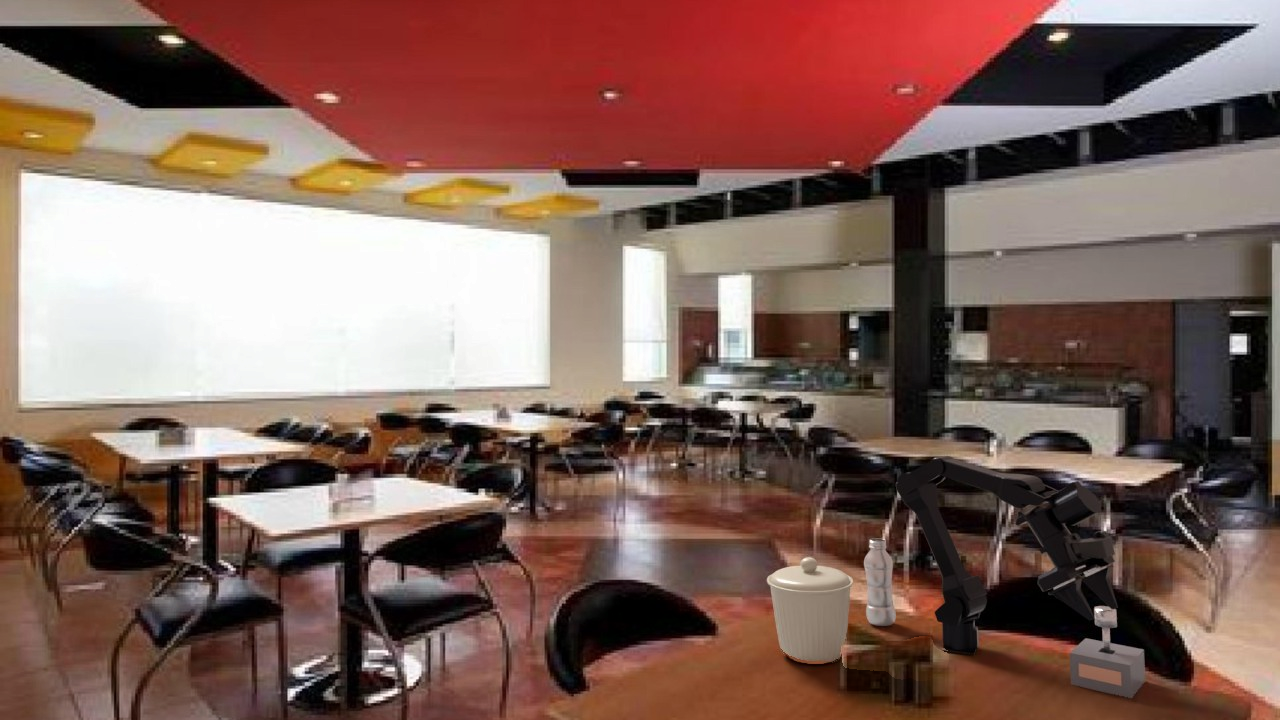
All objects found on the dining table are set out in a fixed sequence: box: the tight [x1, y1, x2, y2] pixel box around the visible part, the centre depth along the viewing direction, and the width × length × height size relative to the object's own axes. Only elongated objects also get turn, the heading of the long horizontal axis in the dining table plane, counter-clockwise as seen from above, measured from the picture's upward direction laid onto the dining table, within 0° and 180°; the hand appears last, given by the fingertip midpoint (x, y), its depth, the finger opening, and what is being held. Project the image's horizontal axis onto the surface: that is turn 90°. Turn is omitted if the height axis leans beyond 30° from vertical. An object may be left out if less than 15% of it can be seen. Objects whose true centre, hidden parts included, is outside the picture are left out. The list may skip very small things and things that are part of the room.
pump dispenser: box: [1069, 637, 1146, 699], centre depth 151 cm, size 10×10×6 cm
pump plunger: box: [1093, 605, 1118, 654], centre depth 151 cm, size 4×4×9 cm
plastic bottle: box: [863, 538, 897, 627], centre depth 188 cm, size 6×7×20 cm
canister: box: [766, 556, 854, 661], centre depth 170 cm, size 18×18×21 cm
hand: (1103, 614), depth 147 cm, fingers open, 9 cm apart
